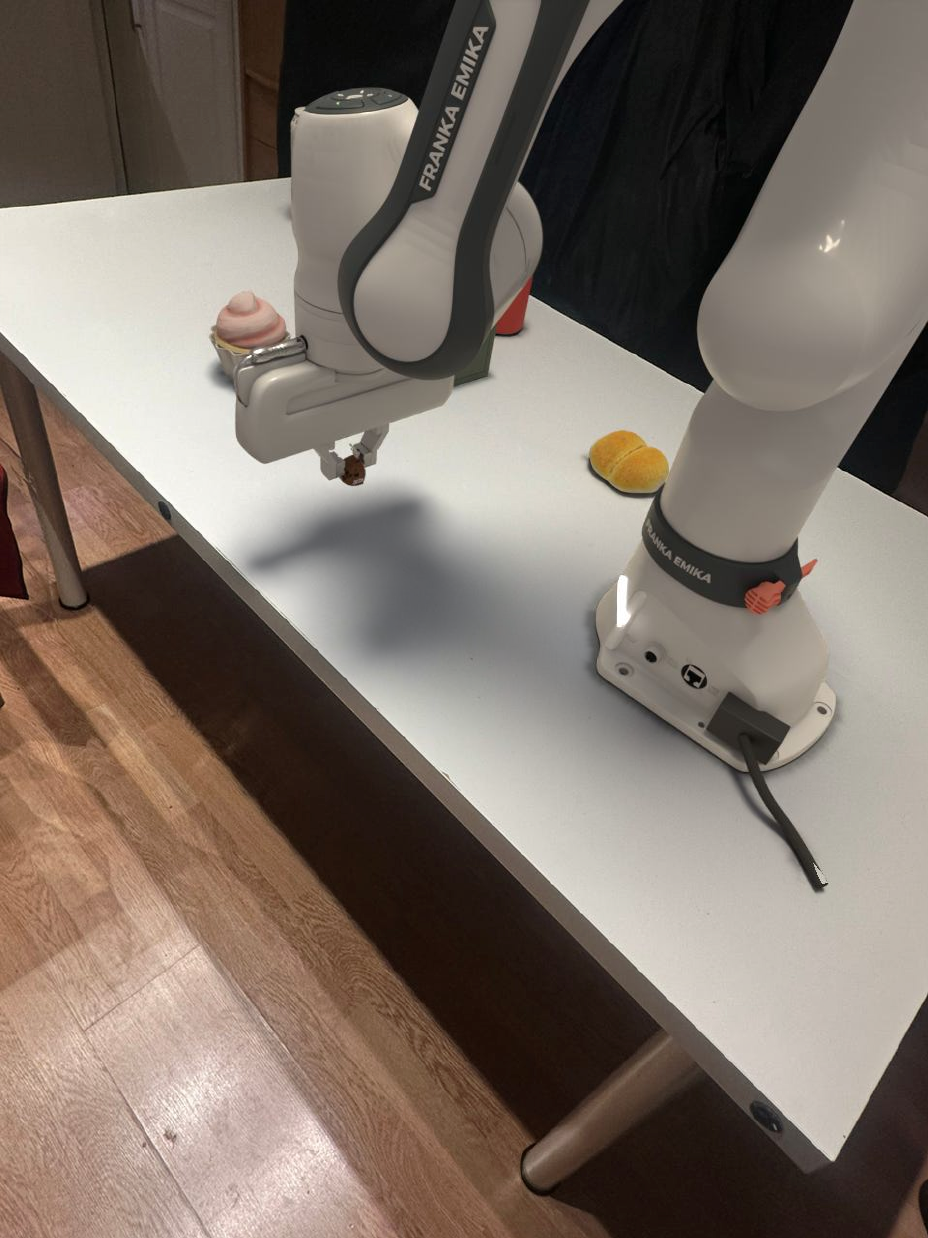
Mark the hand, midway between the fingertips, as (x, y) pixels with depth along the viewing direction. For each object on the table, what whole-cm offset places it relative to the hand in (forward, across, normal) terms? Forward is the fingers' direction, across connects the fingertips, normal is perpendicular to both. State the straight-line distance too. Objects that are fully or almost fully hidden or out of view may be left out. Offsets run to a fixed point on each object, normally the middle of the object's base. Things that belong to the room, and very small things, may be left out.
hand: (348, 469), depth 75 cm
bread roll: (+8, +33, -7) cm, 34 cm away
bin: (+7, +26, +23) cm, 35 cm away
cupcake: (+6, +6, +29) cm, 30 cm away
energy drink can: (+6, +36, +65) cm, 74 cm away
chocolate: (+2, 0, 0) cm, 2 cm away
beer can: (+7, +42, +26) cm, 50 cm away
